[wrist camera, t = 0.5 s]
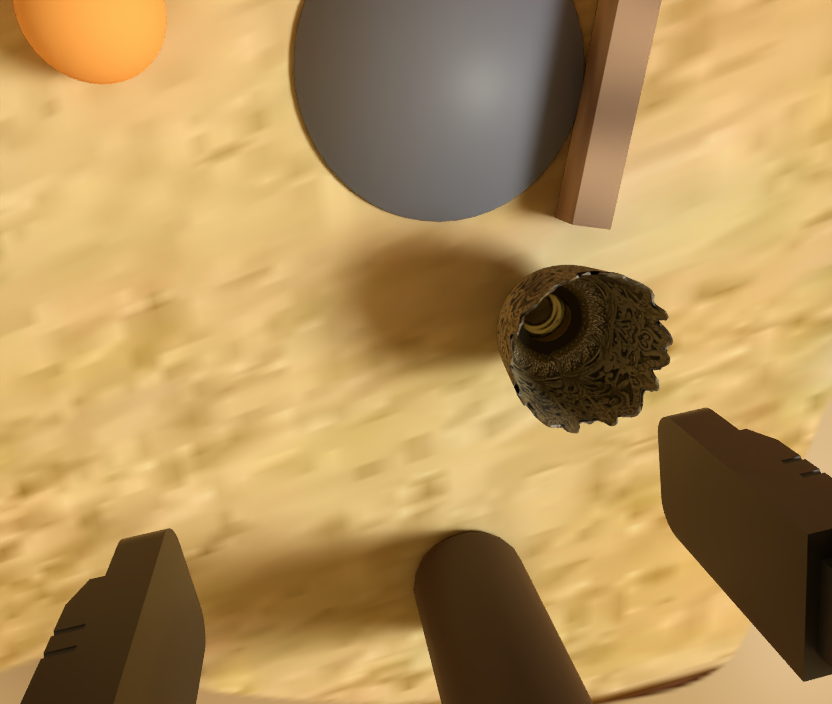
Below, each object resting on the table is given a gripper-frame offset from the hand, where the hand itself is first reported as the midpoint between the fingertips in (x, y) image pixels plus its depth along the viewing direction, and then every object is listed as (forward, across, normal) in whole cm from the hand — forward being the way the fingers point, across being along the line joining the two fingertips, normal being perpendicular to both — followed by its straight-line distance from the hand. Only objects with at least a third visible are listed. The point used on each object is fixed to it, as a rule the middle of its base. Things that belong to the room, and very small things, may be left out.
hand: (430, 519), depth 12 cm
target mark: (+26, -6, -7) cm, 28 cm away
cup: (+26, -10, +6) cm, 29 cm away
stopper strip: (+26, -14, -4) cm, 30 cm away
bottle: (+26, -4, +22) cm, 34 cm away
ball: (+23, +8, -11) cm, 27 cm away
